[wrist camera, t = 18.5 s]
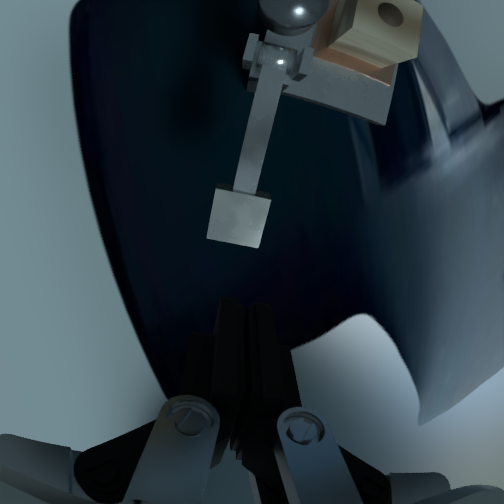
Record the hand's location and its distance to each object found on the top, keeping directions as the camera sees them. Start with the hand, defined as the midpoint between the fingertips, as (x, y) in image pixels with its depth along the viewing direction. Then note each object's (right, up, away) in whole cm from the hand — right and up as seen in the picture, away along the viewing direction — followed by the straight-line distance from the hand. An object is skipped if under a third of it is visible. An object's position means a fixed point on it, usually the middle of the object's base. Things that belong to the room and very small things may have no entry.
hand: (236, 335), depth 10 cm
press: (+9, +25, +15) cm, 31 cm away
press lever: (+1, +14, +10) cm, 17 cm away
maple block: (+11, +25, +12) cm, 30 cm away
